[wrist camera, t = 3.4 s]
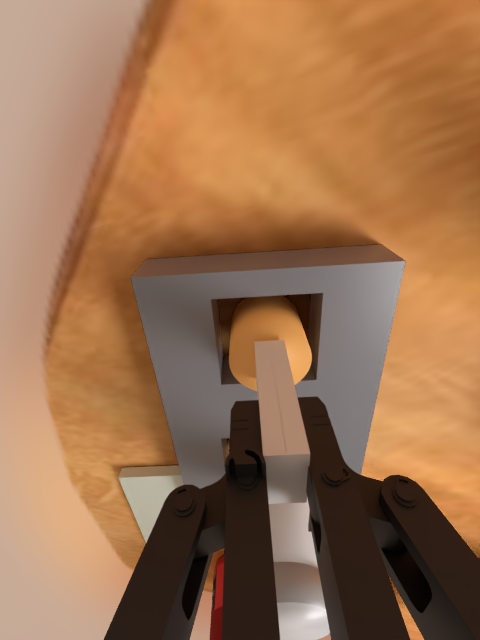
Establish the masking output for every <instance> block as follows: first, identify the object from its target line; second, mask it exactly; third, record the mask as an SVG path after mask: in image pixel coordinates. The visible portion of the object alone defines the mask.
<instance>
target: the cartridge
mask: <svg viewBox="0 0 480 640" xmlns="http://www.w3.org/2000/svg"><path fill="white" fill-rule="evenodd" d="M309 511H310V509H309V504H308V498H307V502H306V503H280V504H269V514H270V526H271V537H272V549H273V561H274V573H275V584H276V596H277V608H278V620H279V631H280V640H317V639H320V638H322V637H324V636H326V635H328V634H330V630H329V624H328V619H327V613H326V608H325V603H324V597H323V592H322V586H321V581H320V575H319V570H318V565H317V559H316V554H315V548H314V543H313V537H312V532H308V522H309Z"/></svg>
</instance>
